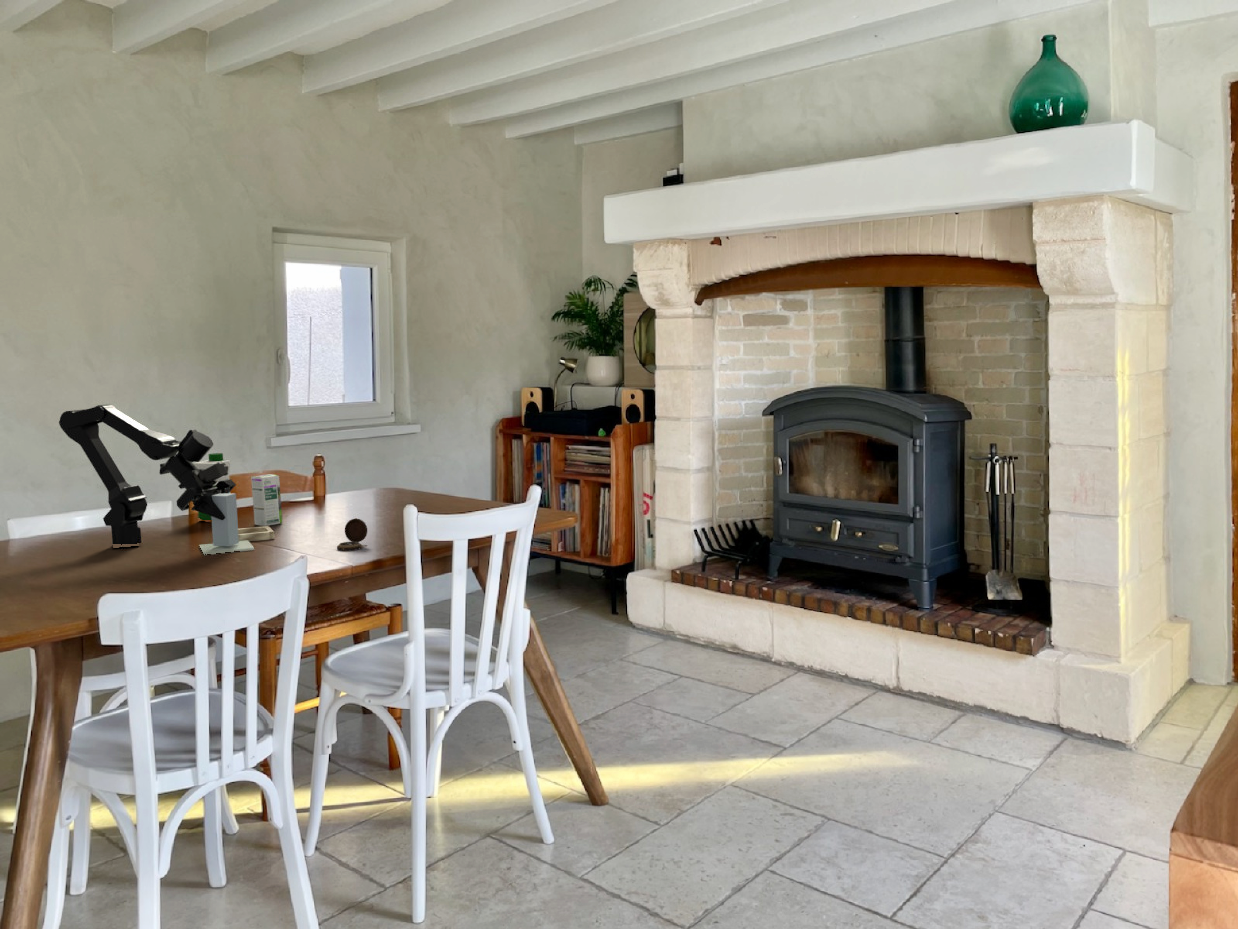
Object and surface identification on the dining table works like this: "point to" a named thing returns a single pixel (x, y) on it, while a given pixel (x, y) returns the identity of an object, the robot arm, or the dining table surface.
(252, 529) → the holder
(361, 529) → the compass
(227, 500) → the link block
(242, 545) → the plate
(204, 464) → the milk carton
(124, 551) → the dining table surface
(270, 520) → the syrup box
